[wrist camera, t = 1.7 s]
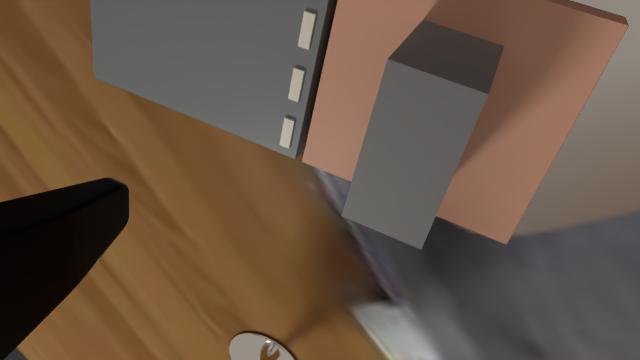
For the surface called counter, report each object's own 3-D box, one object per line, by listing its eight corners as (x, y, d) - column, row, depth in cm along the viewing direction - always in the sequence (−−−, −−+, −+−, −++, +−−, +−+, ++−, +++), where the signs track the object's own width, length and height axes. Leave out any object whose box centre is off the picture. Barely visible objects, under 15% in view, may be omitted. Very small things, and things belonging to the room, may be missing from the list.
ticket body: (114, 68, 23) (92, 78, 22) (107, -141, 18) (79, -141, 17) (307, 145, 21) (293, 160, 20) (354, -66, 16) (340, -62, 15)
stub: (312, 150, 21) (252, 218, 17) (361, -63, 16) (295, -39, 12) (508, 228, 19) (494, 323, 15) (625, 17, 15) (648, 74, 11)
